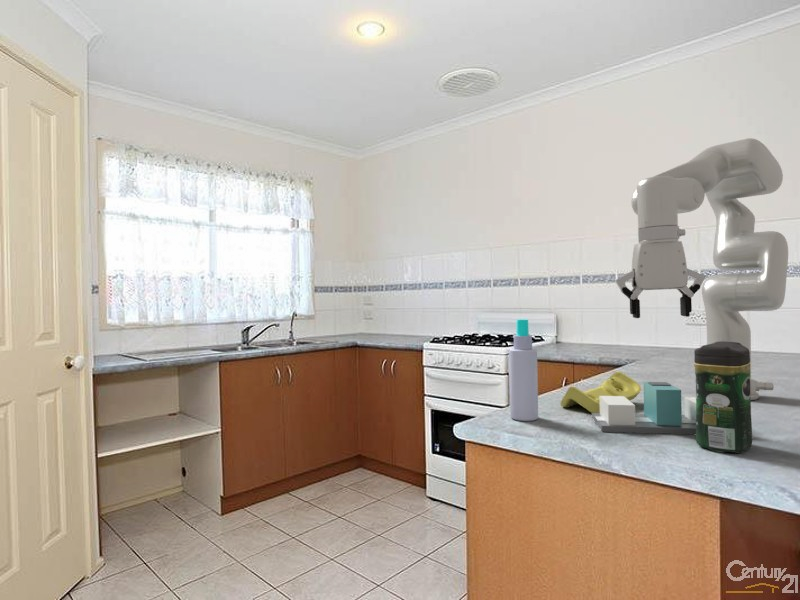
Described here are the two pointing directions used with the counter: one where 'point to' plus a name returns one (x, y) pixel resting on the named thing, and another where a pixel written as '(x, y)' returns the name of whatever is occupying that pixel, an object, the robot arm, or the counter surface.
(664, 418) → the block
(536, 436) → the counter surface
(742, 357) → the coffee jar
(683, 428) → the rail board
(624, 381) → the plastic component
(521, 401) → the spray bottle
